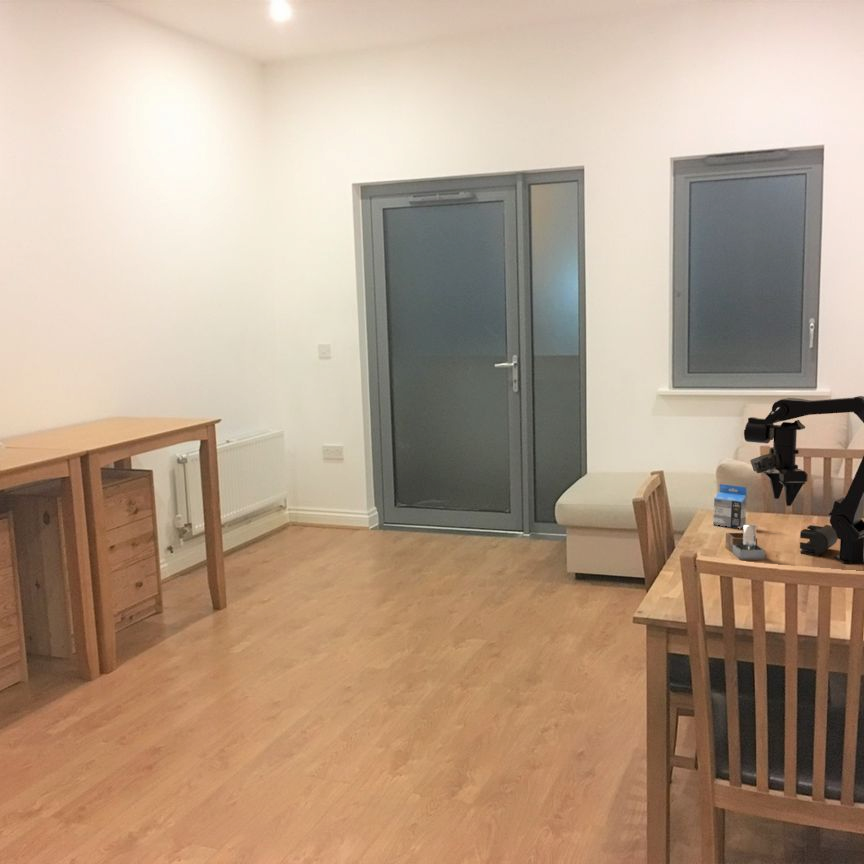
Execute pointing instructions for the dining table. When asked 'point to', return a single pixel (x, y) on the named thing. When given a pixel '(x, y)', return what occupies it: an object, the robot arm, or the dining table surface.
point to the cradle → (748, 552)
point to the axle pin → (749, 537)
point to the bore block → (734, 540)
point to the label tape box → (730, 507)
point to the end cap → (817, 539)
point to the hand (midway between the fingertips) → (782, 502)
